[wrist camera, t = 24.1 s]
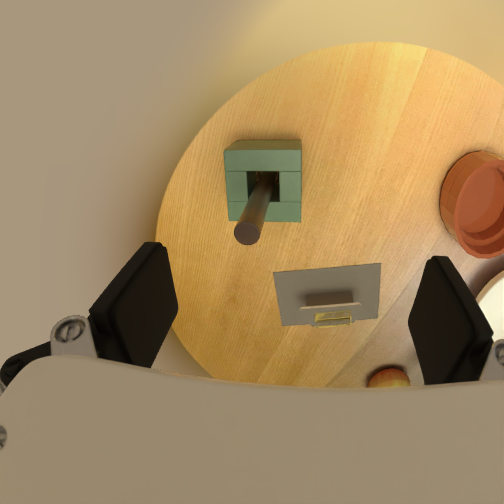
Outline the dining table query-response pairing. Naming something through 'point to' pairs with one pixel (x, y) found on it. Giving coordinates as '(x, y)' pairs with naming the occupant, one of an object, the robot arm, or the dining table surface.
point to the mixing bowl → (475, 204)
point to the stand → (265, 159)
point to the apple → (389, 379)
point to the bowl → (493, 304)
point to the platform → (328, 295)
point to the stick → (255, 209)
